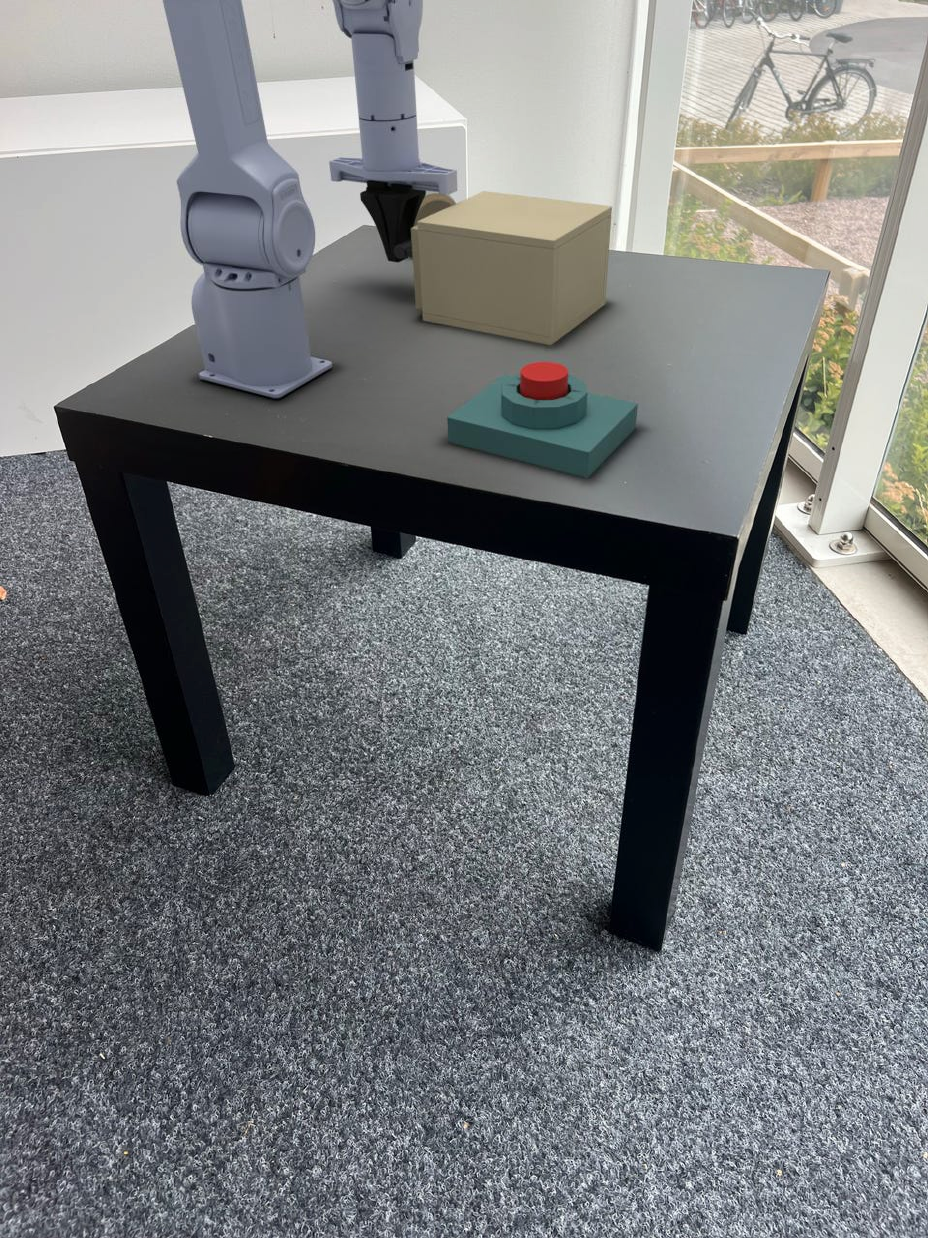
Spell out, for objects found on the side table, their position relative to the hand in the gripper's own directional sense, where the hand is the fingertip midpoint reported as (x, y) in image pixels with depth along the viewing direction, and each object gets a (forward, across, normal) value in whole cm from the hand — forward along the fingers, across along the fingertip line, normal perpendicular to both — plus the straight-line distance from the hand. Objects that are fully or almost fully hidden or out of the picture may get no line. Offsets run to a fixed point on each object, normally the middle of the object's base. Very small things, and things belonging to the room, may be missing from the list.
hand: (398, 259), depth 95 cm
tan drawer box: (+3, -14, 0) cm, 15 cm away
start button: (0, -29, +23) cm, 37 cm away
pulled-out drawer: (+3, -11, 0) cm, 11 cm away
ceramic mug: (+4, +6, -16) cm, 17 cm away
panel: (+3, -30, +23) cm, 37 cm away
